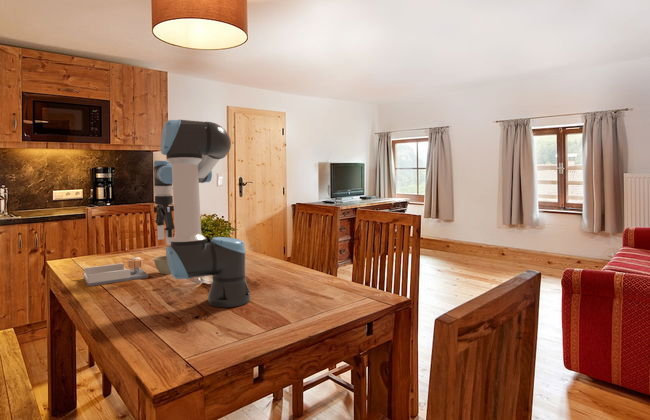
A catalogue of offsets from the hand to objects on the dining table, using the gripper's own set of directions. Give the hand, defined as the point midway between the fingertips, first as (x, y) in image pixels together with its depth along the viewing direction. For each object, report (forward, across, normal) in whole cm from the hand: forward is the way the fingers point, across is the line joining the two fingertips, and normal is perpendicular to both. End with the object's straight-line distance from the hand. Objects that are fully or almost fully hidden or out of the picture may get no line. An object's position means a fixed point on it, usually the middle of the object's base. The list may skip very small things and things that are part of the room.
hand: (165, 241), depth 184 cm
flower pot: (+15, 0, 0) cm, 15 cm away
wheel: (+10, +4, +12) cm, 16 cm away
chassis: (+14, +4, +20) cm, 25 cm away
